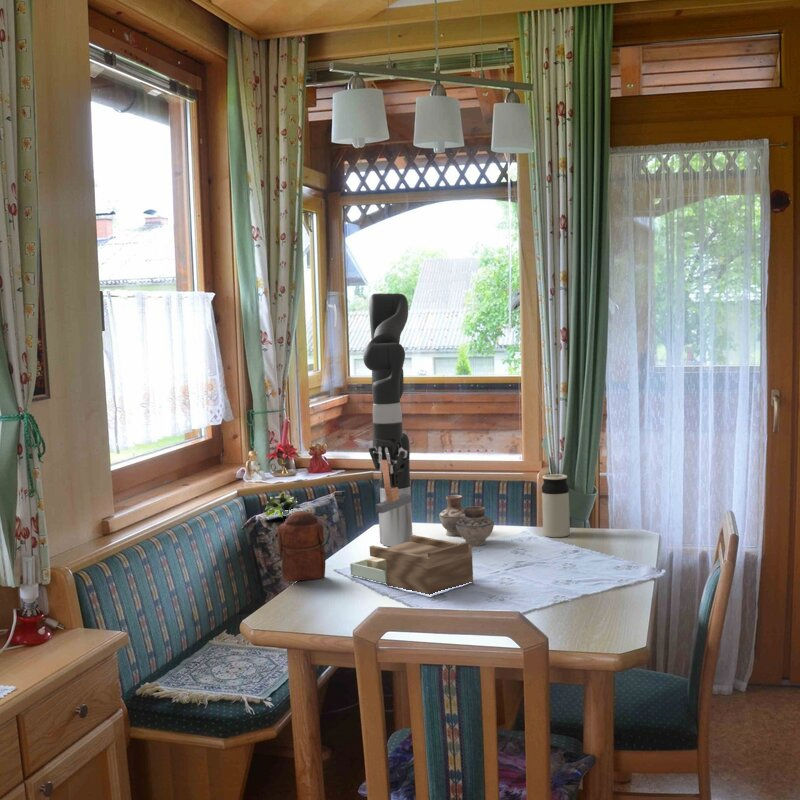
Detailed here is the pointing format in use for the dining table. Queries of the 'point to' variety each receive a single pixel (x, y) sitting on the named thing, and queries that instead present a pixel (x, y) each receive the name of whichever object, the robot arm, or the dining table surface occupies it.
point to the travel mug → (555, 506)
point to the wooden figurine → (301, 547)
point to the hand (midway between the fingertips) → (390, 486)
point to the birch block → (377, 563)
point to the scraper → (390, 492)
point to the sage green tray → (368, 571)
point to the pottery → (466, 521)
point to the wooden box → (426, 564)
